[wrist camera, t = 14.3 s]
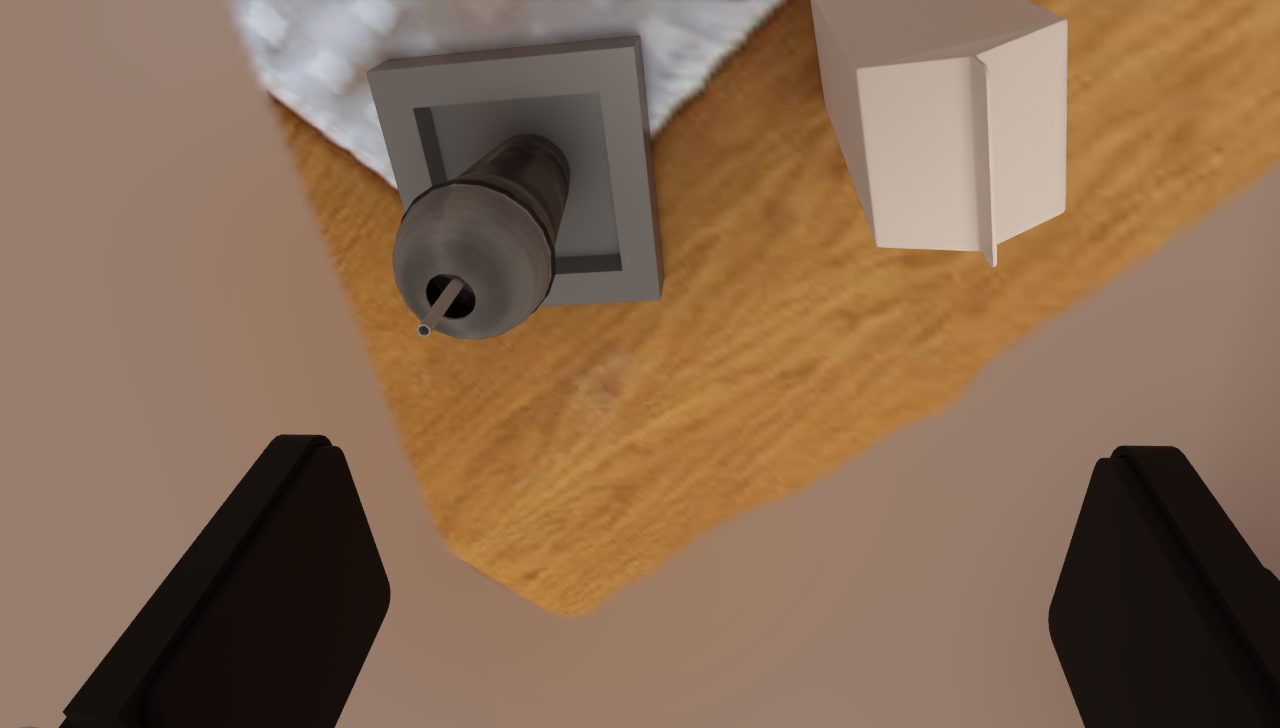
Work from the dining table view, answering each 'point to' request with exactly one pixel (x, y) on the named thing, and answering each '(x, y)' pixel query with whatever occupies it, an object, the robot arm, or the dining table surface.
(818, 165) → the dining table surface
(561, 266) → the tray
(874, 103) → the milk
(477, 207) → the beverage cup
